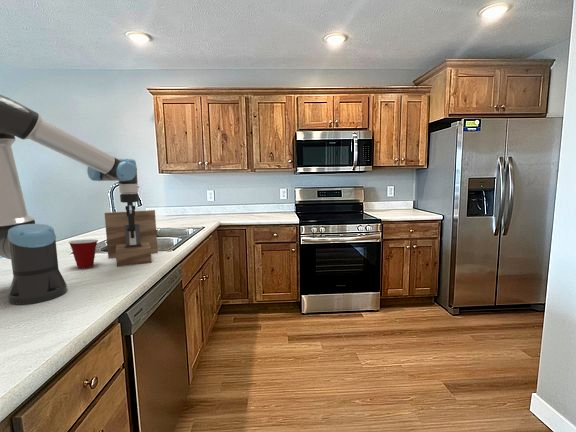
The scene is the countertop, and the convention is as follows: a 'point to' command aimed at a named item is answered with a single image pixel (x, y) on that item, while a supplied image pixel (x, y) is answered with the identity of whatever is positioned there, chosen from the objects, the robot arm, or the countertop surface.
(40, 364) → the countertop surface
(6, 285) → the countertop surface
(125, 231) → the dark grey rectangular post
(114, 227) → the wooden panel stand
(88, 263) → the plastic cup
